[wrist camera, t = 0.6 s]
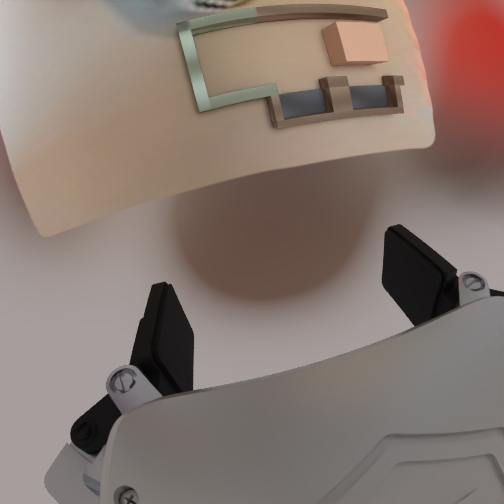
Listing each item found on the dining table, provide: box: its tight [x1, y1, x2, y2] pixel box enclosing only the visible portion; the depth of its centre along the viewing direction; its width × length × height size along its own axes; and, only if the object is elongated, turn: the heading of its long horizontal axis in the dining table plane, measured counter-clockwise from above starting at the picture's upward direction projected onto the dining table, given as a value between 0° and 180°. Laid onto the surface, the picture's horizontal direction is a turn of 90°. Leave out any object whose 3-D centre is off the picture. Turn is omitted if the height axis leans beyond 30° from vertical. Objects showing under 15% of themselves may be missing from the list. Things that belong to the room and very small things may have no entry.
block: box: [322, 22, 389, 66], centre depth 28 cm, size 6×7×5 cm
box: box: [177, 4, 404, 129], centre depth 29 cm, size 18×30×3 cm, turn 103°
